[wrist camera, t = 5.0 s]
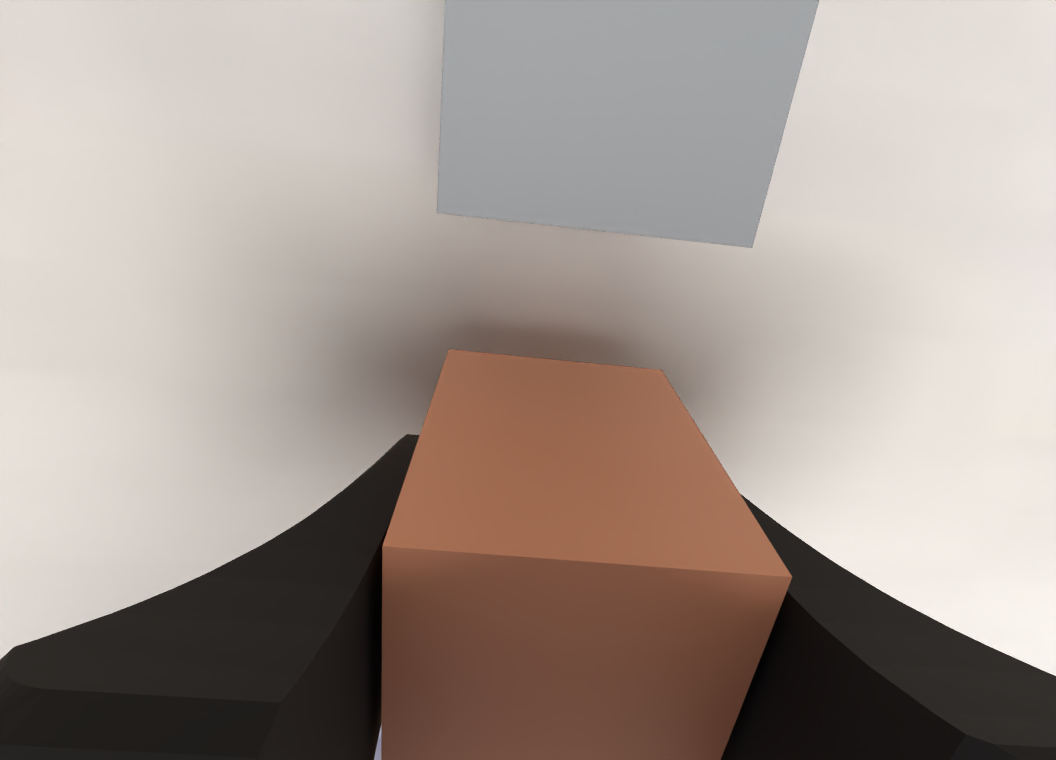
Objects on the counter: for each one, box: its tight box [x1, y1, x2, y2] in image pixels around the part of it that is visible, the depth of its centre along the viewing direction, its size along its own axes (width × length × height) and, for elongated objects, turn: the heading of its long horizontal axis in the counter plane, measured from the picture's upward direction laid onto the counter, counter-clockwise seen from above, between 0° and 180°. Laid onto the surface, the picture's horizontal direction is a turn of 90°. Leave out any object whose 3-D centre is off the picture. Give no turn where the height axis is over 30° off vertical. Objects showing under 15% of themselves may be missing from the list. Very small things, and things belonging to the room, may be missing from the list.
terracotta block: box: [381, 349, 792, 760], centre depth 10 cm, size 4×4×6 cm
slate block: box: [437, 0, 819, 248], centre depth 10 cm, size 4×4×6 cm
